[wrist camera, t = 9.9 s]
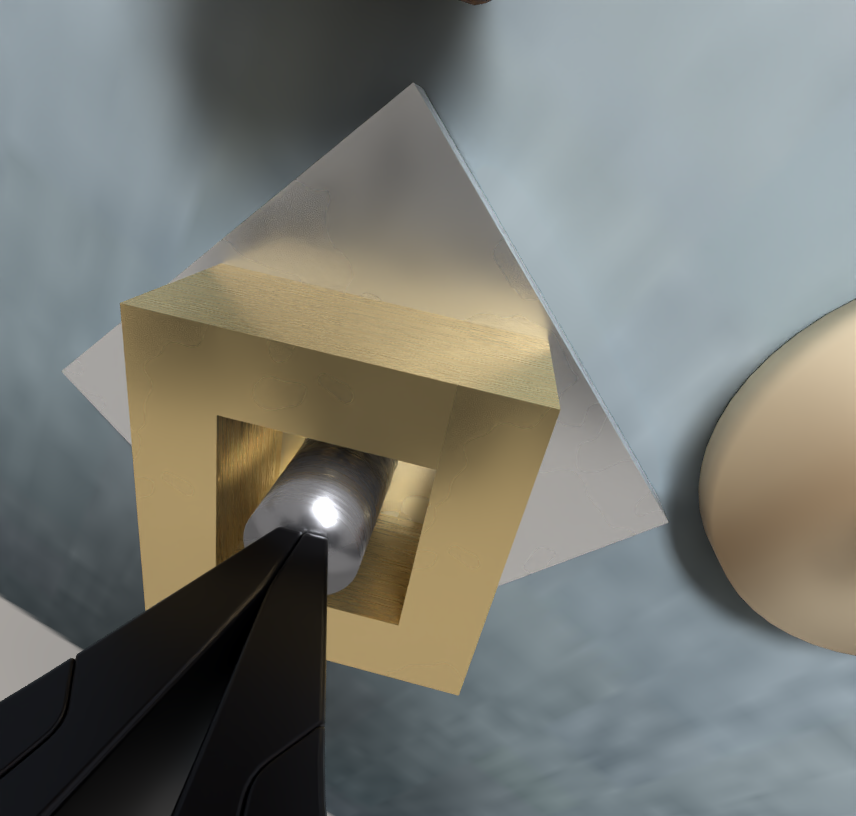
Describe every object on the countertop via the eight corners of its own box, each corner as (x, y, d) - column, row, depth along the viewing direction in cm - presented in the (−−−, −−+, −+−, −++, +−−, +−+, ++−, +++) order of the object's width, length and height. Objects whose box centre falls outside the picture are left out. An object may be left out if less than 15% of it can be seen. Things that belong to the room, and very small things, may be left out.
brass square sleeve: (469, 584, 13) (458, 695, 10) (219, 519, 13) (145, 611, 11) (548, 340, 10) (560, 409, 7) (221, 263, 10) (119, 303, 8)
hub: (657, 495, 12) (725, 660, 8) (335, 622, 16) (276, 780, 12) (422, 88, 9) (355, 44, 5) (92, 355, 13) (-96, 448, 9)
